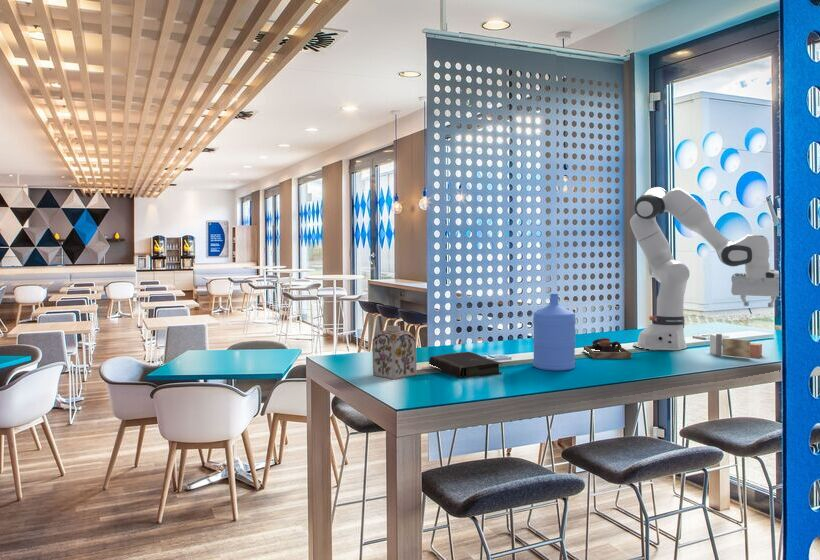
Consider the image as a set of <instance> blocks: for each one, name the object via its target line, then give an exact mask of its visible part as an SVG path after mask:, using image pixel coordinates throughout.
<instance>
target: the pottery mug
mask: <svg viewBox="0 0 820 560" xmlns="http://www.w3.org/2000/svg"><path fill="white" fill-rule="evenodd" d="M591 346H592V348H593V349H595V350H600V352H618V351H619V350H620V348H621V347H622V345H621V342H619V341H617V340H616V341H611V339H610V338H607V337H605V338H603V337H602V338H598V339H594V340H593V341H592V345H591ZM615 346H618V347H617V348H616V349H615ZM592 348H591V349H592Z"/></svg>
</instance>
